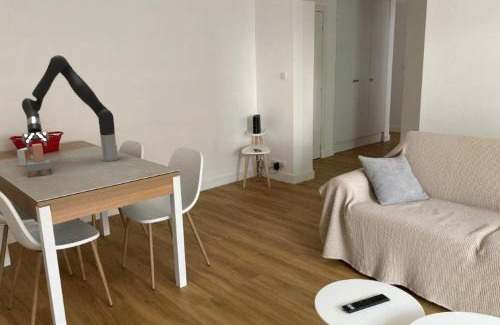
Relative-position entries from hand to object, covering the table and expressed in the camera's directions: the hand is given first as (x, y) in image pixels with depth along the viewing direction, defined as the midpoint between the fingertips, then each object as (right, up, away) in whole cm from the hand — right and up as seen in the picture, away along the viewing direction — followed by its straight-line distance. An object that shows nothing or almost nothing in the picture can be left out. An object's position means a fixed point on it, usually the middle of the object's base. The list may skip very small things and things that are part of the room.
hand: (37, 147), depth 247 cm
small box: (-21, -10, +29) cm, 37 cm away
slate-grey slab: (0, -12, +3) cm, 12 cm away
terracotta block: (0, -8, +2) cm, 8 cm away
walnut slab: (0, -16, +4) cm, 16 cm away
